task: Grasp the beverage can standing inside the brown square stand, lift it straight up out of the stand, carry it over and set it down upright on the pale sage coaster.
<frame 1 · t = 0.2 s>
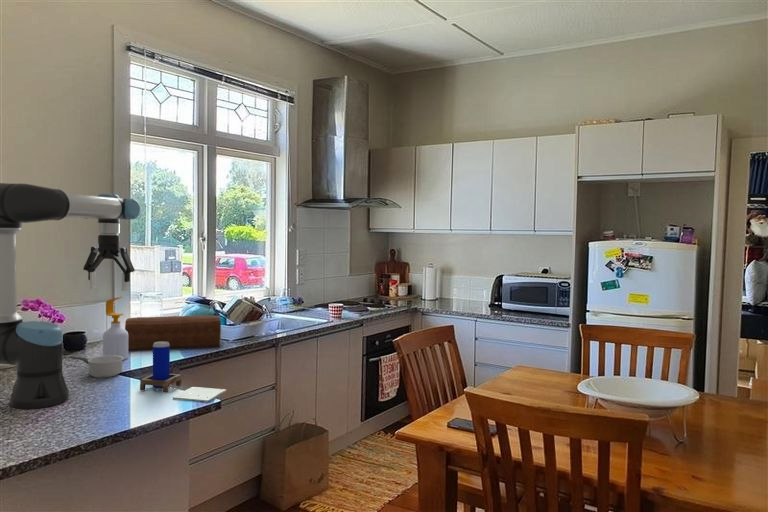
hand: (108, 289, 219), 28 cm above the countertop, fingers open, 13 cm apart
soap bottle: (115, 359, 225), on the countertop
brown square stand: (161, 387, 187), on the countertop
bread: (174, 346, 252), on the countertop
coaster: (199, 395, 180), on the countertop
beverage can: (161, 388, 187), on the countertop
saucepan: (95, 374, 203), on the countertop
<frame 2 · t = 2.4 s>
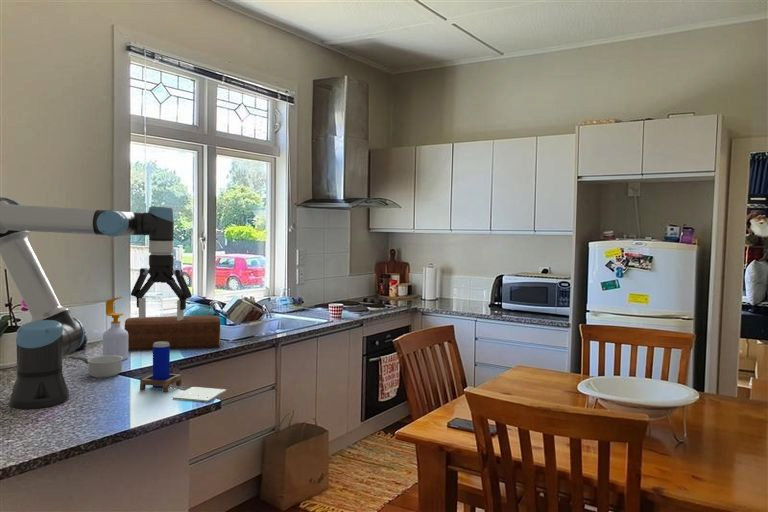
hand: (161, 318, 186), 23 cm above the countertop, fingers open, 13 cm apart
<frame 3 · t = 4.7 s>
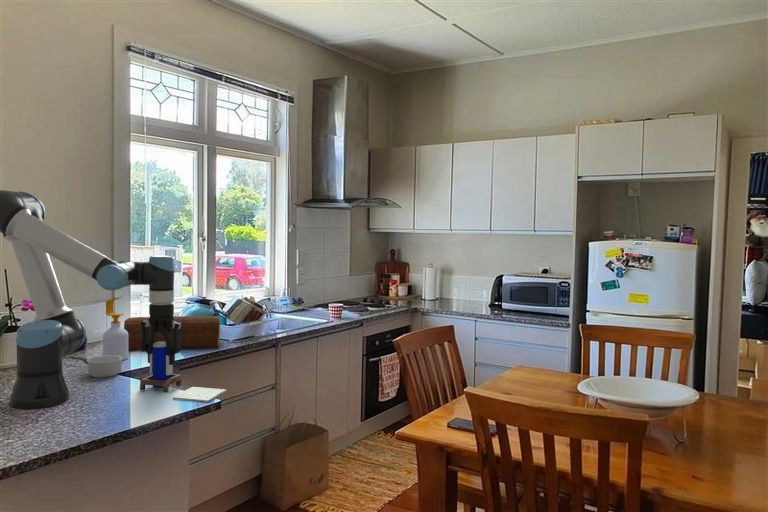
hand: (161, 373, 187), 5 cm above the countertop, fingers closed on beverage can, 5 cm apart
beverage can: (161, 388, 187), on the countertop, touching gripper
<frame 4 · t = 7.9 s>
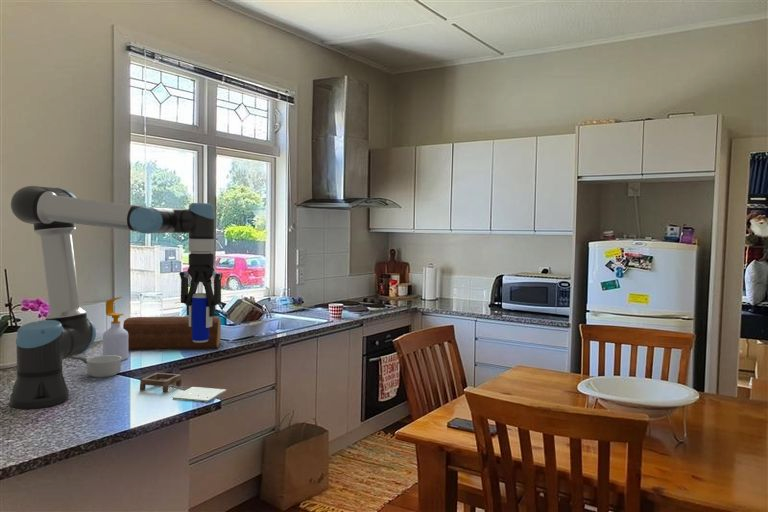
hand: (200, 326, 179), 22 cm above the countertop, fingers closed on beverage can, 5 cm apart
beverage can: (200, 341, 180), point 17 cm above the countertop, touching gripper
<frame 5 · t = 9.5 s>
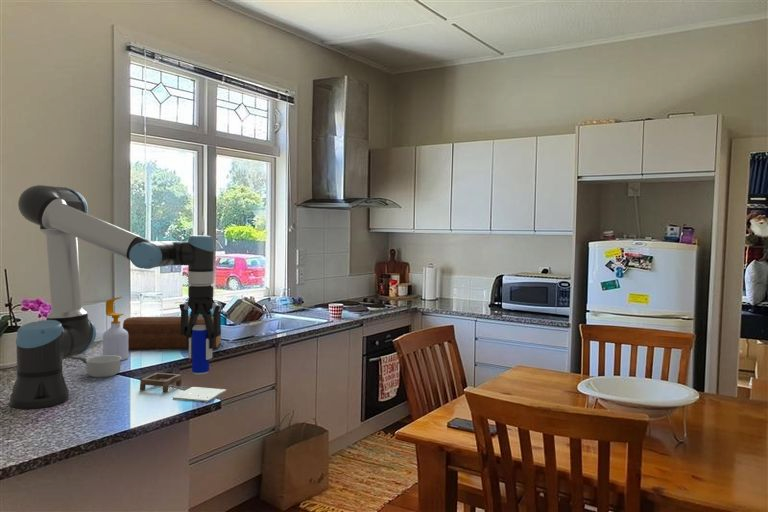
hand: (200, 357, 180), 12 cm above the countertop, fingers closed on beverage can, 5 cm apart
beverage can: (200, 373, 180), point 7 cm above the countertop, touching gripper
when the fingers open (6 cm above the countertop, at t = 10.9 s): beverage can stays where it is, resting on coaster.
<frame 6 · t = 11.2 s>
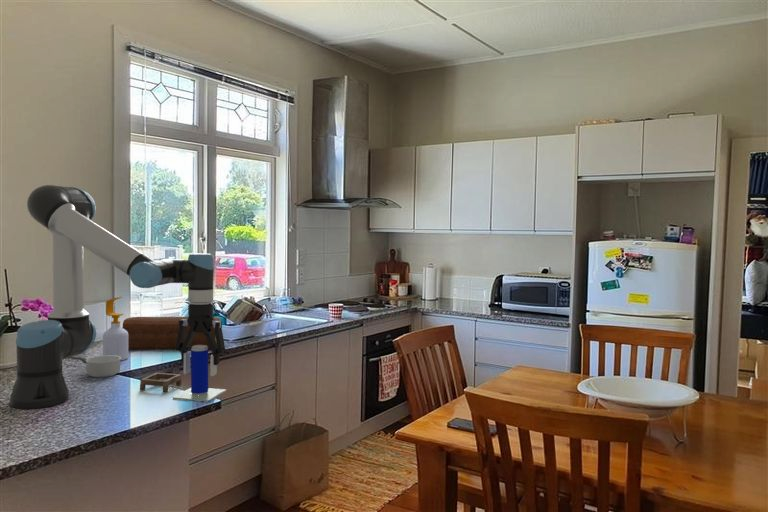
hand: (200, 373, 180), 7 cm above the countertop, fingers open, 8 cm apart
beverage can: (199, 393, 180), resting on coaster
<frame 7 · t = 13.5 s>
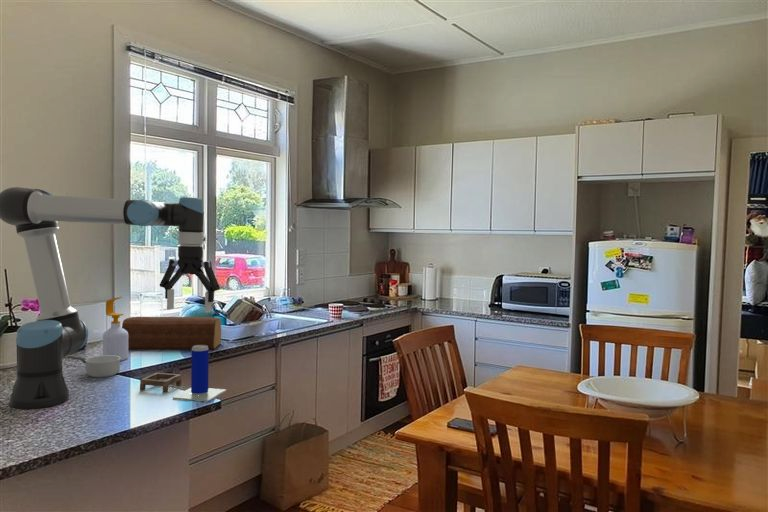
hand: (189, 310, 185), 26 cm above the countertop, fingers open, 13 cm apart
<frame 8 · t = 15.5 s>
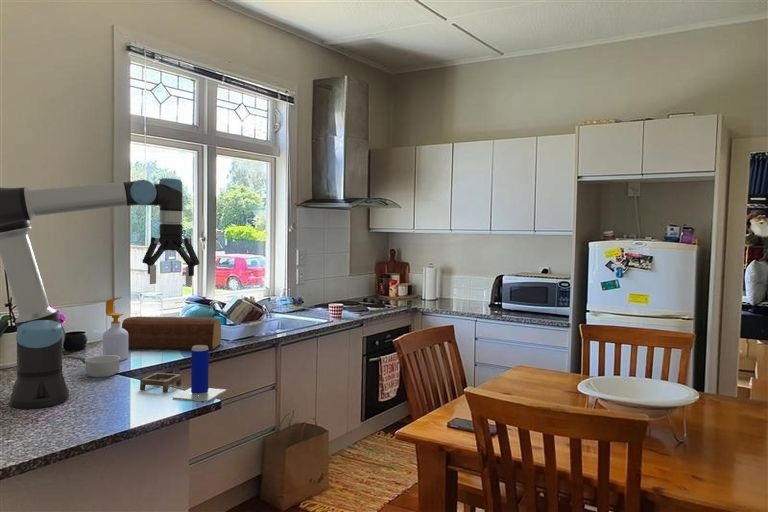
hand: (170, 284, 198), 33 cm above the countertop, fingers open, 13 cm apart
at the end: beverage can inside the target area on the coaster (0.1 cm from its centre), point 0.4 cm above the coaster's base; beverage can tilted 0°; beverage can touching coaster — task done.
